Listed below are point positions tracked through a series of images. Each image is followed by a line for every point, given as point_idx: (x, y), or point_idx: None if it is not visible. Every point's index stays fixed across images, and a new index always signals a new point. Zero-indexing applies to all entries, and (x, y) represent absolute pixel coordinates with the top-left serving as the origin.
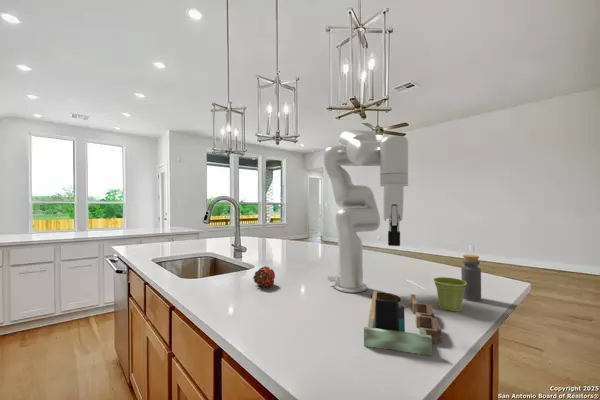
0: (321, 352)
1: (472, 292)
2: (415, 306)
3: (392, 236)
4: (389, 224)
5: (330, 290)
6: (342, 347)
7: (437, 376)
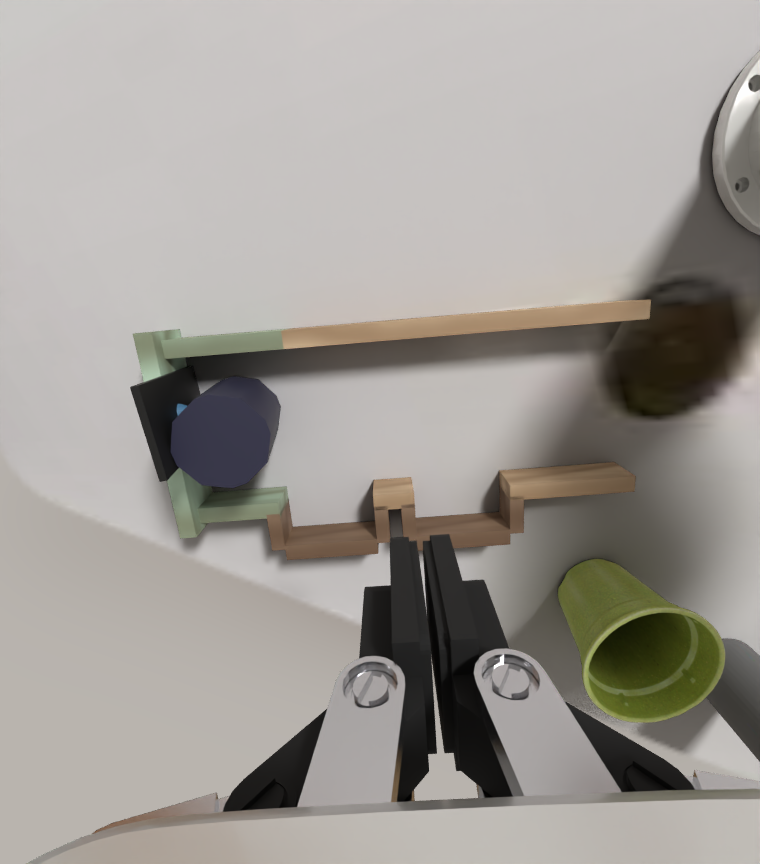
0: (53, 201)
1: (713, 690)
2: (506, 488)
3: (360, 644)
4: (309, 783)
5: (741, 11)
6: (120, 263)
7: (112, 519)
